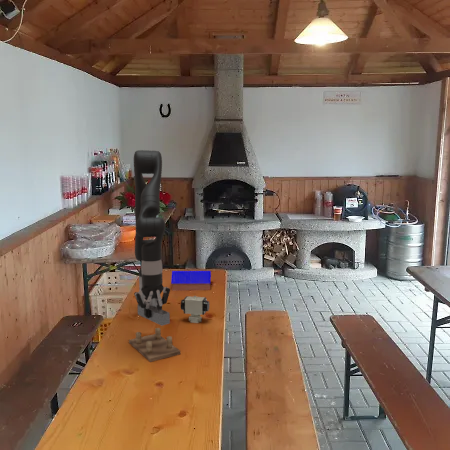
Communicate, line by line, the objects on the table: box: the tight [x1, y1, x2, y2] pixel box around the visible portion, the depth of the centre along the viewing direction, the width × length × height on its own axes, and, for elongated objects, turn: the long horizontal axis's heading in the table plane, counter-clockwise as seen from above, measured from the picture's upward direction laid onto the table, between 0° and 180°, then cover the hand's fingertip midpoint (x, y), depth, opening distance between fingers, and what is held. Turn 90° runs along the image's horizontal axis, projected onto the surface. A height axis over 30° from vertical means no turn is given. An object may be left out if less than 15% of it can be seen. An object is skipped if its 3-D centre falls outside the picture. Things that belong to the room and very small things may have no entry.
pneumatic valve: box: [180, 295, 210, 324], centre depth 205 cm, size 6×12×12 cm, turn 79°
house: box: [170, 270, 212, 292], centre depth 249 cm, size 12×20×12 cm, turn 91°
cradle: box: [128, 327, 181, 363], centre depth 179 cm, size 20×12×5 cm, turn 33°
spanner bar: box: [137, 303, 171, 327], centre depth 177 cm, size 16×4×4 cm, turn 42°
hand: (153, 316), depth 177 cm, fingers closed on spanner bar, 4 cm apart
